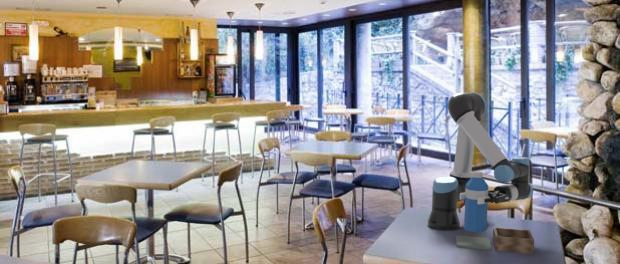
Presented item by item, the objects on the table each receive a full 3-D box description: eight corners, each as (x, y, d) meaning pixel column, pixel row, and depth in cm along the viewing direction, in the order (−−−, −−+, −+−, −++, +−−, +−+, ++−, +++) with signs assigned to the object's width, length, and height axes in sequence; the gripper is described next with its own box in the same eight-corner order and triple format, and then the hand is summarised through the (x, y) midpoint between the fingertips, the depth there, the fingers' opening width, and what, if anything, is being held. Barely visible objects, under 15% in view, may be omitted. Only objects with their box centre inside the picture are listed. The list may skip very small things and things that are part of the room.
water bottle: (475, 233, 228) (477, 175, 225) (459, 228, 236) (461, 171, 234) (491, 230, 232) (493, 173, 230) (475, 225, 240) (477, 170, 238)
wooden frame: (495, 250, 226) (495, 236, 225) (492, 240, 240) (493, 227, 240) (533, 254, 222) (534, 239, 221) (528, 243, 236) (529, 230, 236)
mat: (456, 246, 230) (456, 244, 230) (456, 237, 244) (456, 235, 244) (491, 249, 227) (491, 247, 227) (489, 240, 240) (489, 238, 240)
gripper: (525, 206, 233) (489, 213, 221) (485, 197, 251) (450, 202, 240) (526, 189, 232) (489, 195, 221) (486, 181, 251) (450, 185, 239)
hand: (469, 198), depth 230 cm, fingers closed on water bottle, 9 cm apart
